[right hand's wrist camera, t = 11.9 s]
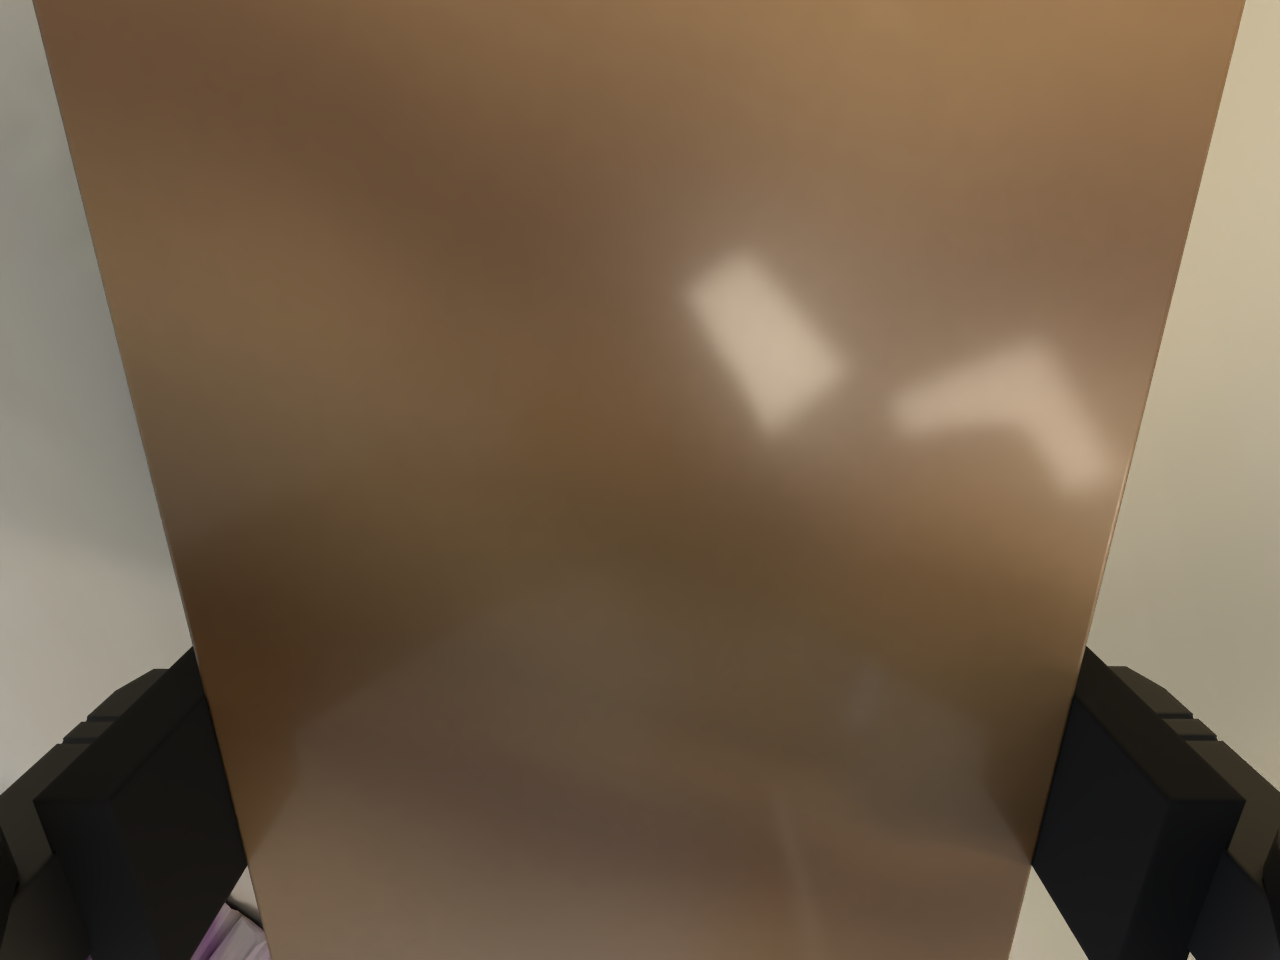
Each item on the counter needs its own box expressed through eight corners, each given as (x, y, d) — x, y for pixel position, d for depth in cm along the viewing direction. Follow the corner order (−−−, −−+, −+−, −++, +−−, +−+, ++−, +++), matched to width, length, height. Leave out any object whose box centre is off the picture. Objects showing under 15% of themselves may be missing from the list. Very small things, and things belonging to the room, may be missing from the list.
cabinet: (286, -573, 11) (-635, -2639, 3) (992, -574, 11) (1901, -2620, 3) (430, 652, 18) (273, 977, 10) (849, 652, 18) (1006, 977, 10)
